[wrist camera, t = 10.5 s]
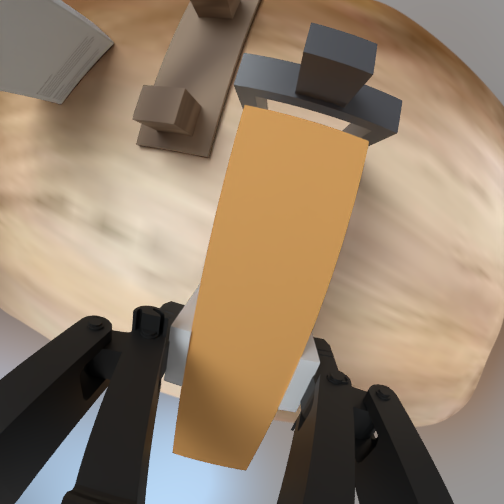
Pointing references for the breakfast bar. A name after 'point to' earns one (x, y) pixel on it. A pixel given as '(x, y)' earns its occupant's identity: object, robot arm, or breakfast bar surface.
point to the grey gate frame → (324, 83)
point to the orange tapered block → (263, 278)
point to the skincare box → (46, 48)
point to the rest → (195, 77)
